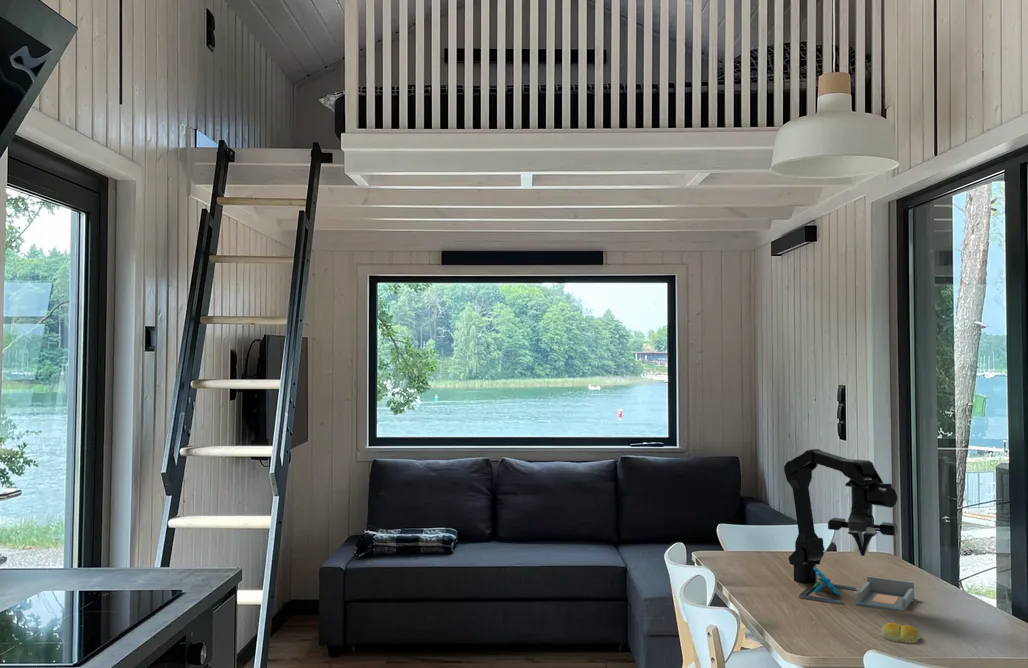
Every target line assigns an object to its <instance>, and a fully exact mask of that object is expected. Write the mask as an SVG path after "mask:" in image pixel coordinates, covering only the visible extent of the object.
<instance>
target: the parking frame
mask: <svg viewBox="0 0 1028 668" xmlns="http://www.w3.org/2000/svg"><path fill="white" fill-rule="evenodd" d="M816 583H817V581H815V582H813V583H812V584H811V583H810V584H809V586H808V587H807V588H805V589H804V590H803V591H802V592H801V593H799V595H798V598H799V599H805V600H812V601H818V602H822V603H823V602H825V603H831V604H839V605H844V602H845V601H844V600H839V599H832V598H828V597H827V598H825V597H821V596H812V595H808V594H809V593H810V592H812V591H813V590H814V589H815V587H814V585H815V584H816ZM832 584H833V586H834V587H835V588H836V589H837V588H838V589H843V590H849V591H857V586H850V585H844V584H843V585H842V584H836V583H832ZM819 585H821V583H820V584H819ZM819 585H818V586H819ZM826 587H828V585H827V586H826Z"/></svg>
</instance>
